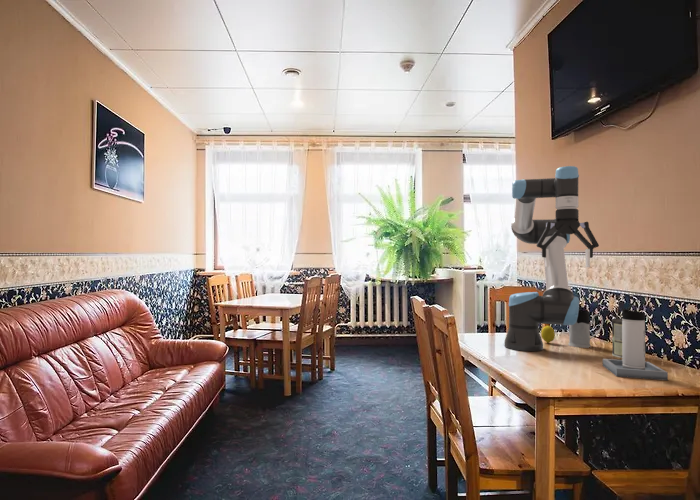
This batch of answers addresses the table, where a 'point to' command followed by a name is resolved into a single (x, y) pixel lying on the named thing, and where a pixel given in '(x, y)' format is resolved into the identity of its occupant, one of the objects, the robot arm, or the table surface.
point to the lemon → (548, 334)
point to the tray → (635, 370)
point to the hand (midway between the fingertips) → (566, 266)
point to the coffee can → (617, 337)
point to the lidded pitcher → (581, 330)
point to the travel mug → (633, 339)
